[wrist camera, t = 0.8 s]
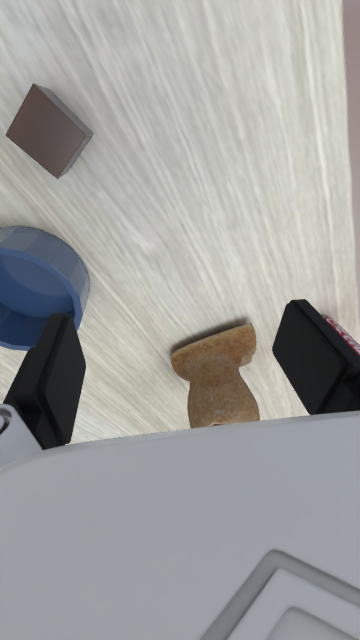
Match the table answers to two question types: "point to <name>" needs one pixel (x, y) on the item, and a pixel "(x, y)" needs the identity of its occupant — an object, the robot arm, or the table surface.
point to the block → (48, 131)
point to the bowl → (37, 284)
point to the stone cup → (218, 377)
